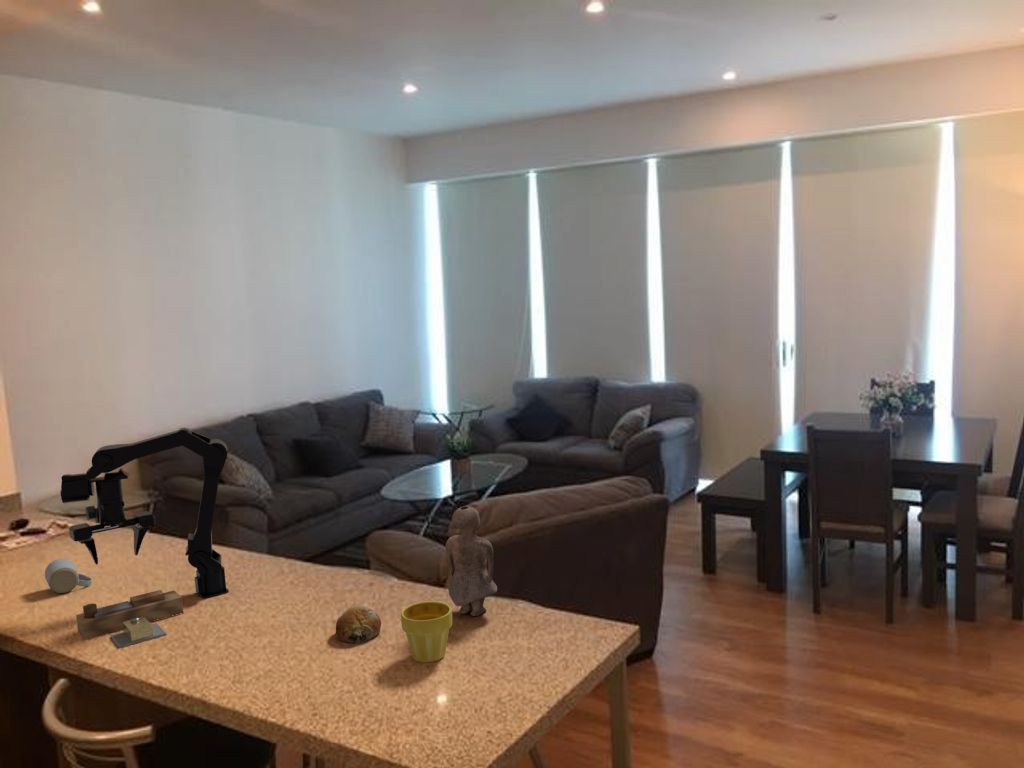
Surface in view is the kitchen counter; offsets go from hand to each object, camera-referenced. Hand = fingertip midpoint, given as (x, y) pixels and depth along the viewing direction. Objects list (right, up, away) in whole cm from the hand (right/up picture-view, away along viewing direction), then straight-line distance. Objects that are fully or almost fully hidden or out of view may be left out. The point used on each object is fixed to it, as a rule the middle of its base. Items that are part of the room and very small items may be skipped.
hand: (116, 559), depth 212 cm
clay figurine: (+89, -10, -14) cm, 90 cm away
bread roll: (+64, -12, -23) cm, 69 cm away
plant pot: (+81, -13, -35) cm, 89 cm away
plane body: (+8, -13, -9) cm, 18 cm away
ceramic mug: (-20, -11, +17) cm, 29 cm away
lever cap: (+13, -13, -18) cm, 26 cm away
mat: (+13, -14, -18) cm, 26 cm away
